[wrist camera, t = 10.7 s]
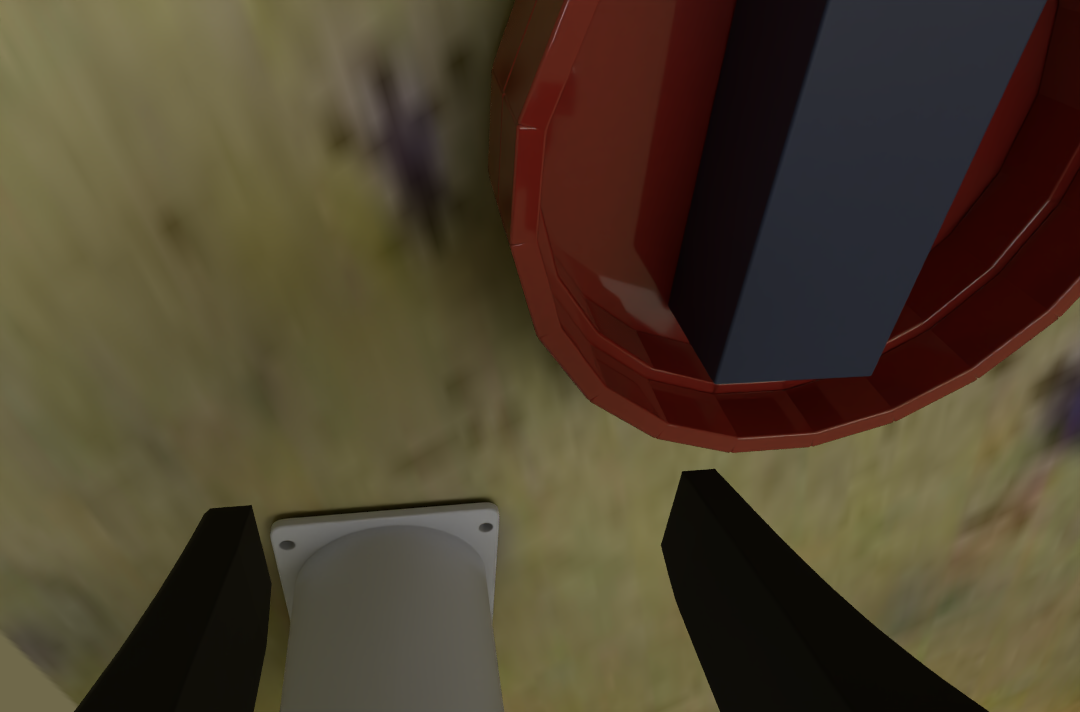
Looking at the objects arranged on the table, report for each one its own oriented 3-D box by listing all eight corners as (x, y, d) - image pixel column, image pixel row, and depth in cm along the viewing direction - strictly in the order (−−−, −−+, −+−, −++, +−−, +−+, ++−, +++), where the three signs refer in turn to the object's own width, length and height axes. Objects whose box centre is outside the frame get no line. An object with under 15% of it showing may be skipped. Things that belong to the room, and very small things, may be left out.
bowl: (919, 346, 25) (1008, 433, 21) (478, 366, 22) (495, 471, 18) (1211, -231, 15) (1458, -247, 12) (501, -335, 12) (547, -398, 9)
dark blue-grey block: (805, 301, 22) (872, 377, 19) (666, 306, 21) (713, 385, 18) (960, -123, 15) (1101, -111, 12) (767, -143, 14) (868, -135, 11)
